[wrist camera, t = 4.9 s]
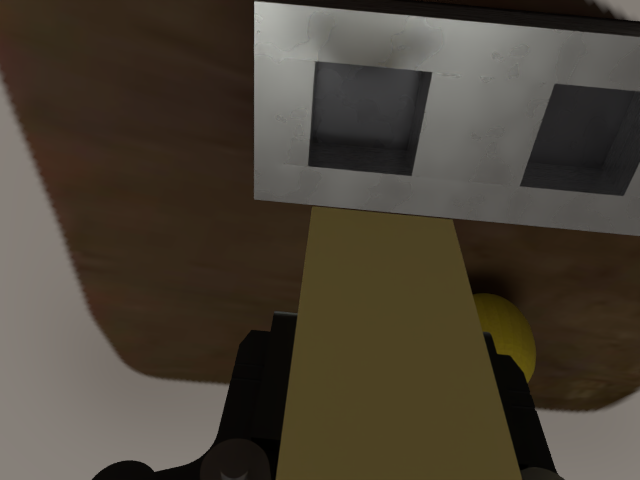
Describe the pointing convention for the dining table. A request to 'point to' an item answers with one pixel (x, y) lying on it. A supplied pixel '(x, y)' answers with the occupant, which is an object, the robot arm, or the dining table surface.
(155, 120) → the dining table surface
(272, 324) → the robot arm
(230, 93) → the dining table surface
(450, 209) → the panel
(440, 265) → the plug
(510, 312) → the lemon
